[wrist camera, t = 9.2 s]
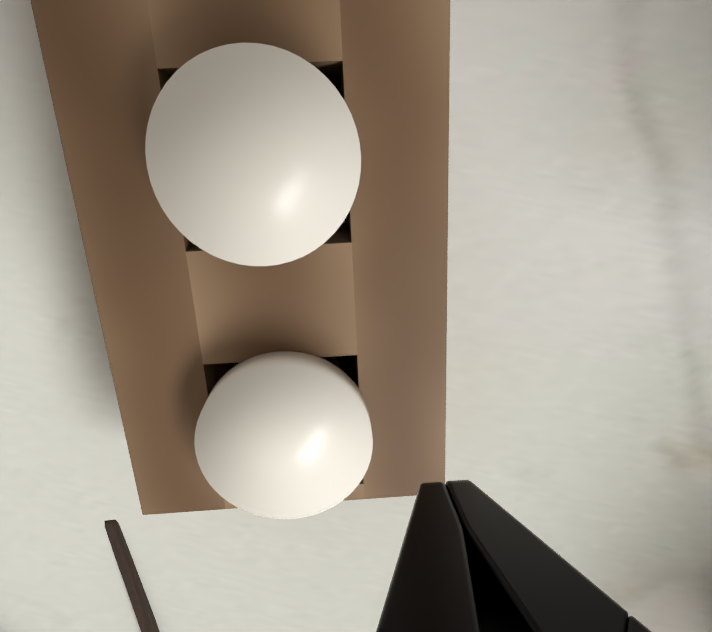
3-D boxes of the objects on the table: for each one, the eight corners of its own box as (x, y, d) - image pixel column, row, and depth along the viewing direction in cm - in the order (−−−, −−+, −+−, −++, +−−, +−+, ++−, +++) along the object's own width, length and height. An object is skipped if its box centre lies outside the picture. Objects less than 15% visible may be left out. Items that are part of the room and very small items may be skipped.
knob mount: (420, -268, 14) (454, -425, 10) (423, 430, 21) (444, 493, 17) (48, -260, 14) (-61, -418, 10) (177, 446, 20) (142, 514, 17)
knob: (360, 310, 18) (369, 359, 14) (366, 435, 20) (375, 512, 16) (216, 318, 18) (181, 370, 14) (233, 444, 20) (207, 524, 16)
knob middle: (349, 67, 16) (356, 38, 12) (356, 232, 18) (365, 260, 13) (181, 74, 16) (126, 47, 11) (204, 241, 17) (164, 271, 13)
